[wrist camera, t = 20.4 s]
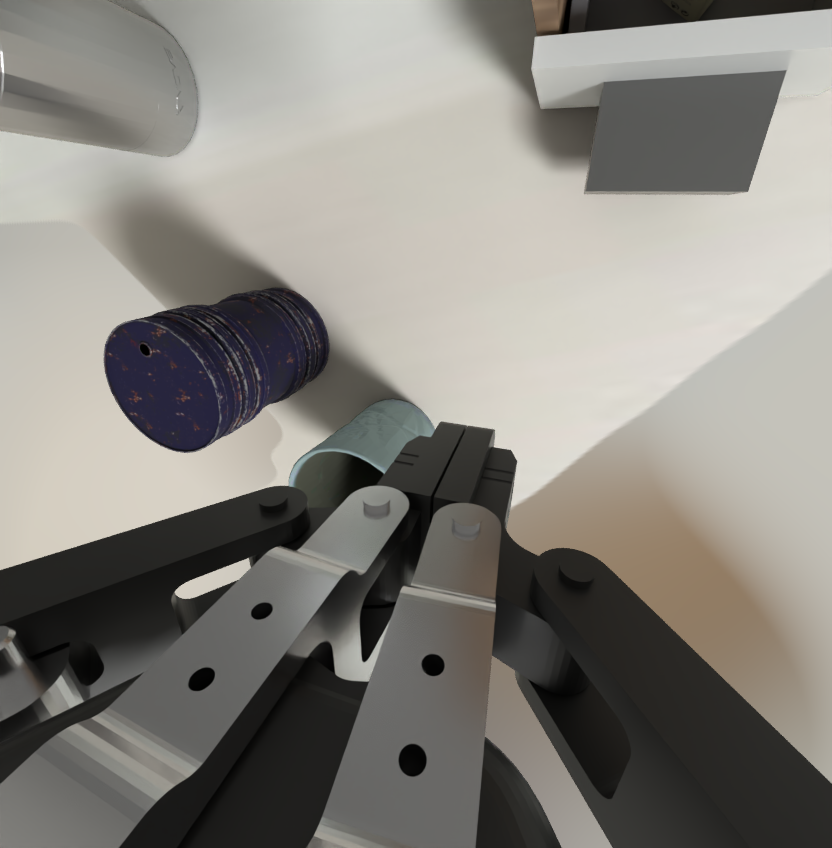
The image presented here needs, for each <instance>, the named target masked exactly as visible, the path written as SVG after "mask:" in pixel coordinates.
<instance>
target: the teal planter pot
mask: <svg viewBox="0 0 832 848" xmlns="http://www.w3.org/2000/svg"><path fill="white" fill-rule="evenodd" d="M434 431H435V429H434V426H433V424H432V423H431V421H430V420H429V418H428V417H427V416H426V415H425V414H424V413H423V412H422V411H421V410H420V409H418V408H417V407H415V406H414V405H412V404H411V403H408V402H405V401H401V400H395V399H390V400H383V401H379V402H376V403H374V404H372V405H370V406H369V407H368V408H366V409H365V410H364V411H363V412H362V413H360V414H359V415H358V416H356V417H355V419H353V420H352V421H351V422H350V423H349V424H347V425H345V426H344V427H343V428H341V429H339V430H338V431H336V432H335V433H334V434H333V435H331V436H330V437H328V438H327V439H326V440H325V441H323V442H322V443H320V444H319V445H317V446H316V447H315V448H313V449H312V450H310V451H309V452H308V453H306V454H305V455H303V456H302V457H301V458H300V459H299V460H298V461H297V462H296V463H295V465H294V467H293V469H292V471H291V473H290V477H289V486H290V487H295V488H297V489H300V490H301V491H303V492H304V493H305V494H306V496H307V499H308V507H309V508H324V507H339V506H340V505H341V504H342V503H343V502H344V501H345V500H346V499H347V497H348V496H350V495H351V494H352V493H353V492H355V491H357V490H359V489H362V488H365V487H369V486H376V485H377V483H378V482H379V481H380V479H381V478H382V476H383V475H384V474H385V472H386V471H387V470H388V468H389V467H390V465H391V464H392V463H393V462H394V460H395V458H396V457H397V456H398V454H400V451H401V450H402V449H403V447H404V446H405V444H406V443H407V442H409V441H411V440H412V439H414V438H416V437H418V436H420V435H421V436H427V437H431V436H432V434H433V433H434Z"/></svg>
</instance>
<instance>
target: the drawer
mask: <svg viewBox="0 0 832 848" xmlns="http://www.w3.org/2000/svg"><path fill="white" fill-rule="evenodd" d="M531 70H532V74H533V78H534V83H535V87H536V91H537V95H538V100H539V104H540V108H541V109H553V108H574V107H594V106H599V108H598V114H597V120H596V125H595V131H594V137H593V143H592V149H591V155H590V161H589V167H588V173H587V179H586V184H585V190H584V194H692V195H730V194H736V193H742V192H748V190H749V187H750V184H751V181H752V177H753V174H754V171H755V168H756V165H757V162H758V159H759V156H760V152H761V149H762V146H763V143H764V140H765V137H766V134H767V131H768V127H769V124H770V121H771V118H772V115H773V112H774V109H775V106H776V102H777V99H778V97H798V96H817V95H819V94H821V93H823V92H825V91H827V90H829V89H831V88H832V0H714V1H713V2H712V3H711V5H710V6H709V7H708V8H707V10H706V11H705V12H704V13H703V14H702V16H701V17H700V18H699V19H698V21H697V22H688V21H687V20H686V19H684V18H683V17H682V16H680V15H679V14H678V13H676V12H675V11H674V10H672V9H671V8H670V7H669V6H668V5H666V4H665V3H664V2H663V1H662V0H572V6H571V13H570V21H569V28H568V34H560V35H549V36H539V37H535V41H534V50H533V59H532V68H531Z"/></svg>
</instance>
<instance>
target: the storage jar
mask: <svg viewBox="0 0 832 848" xmlns="http://www.w3.org/2000/svg"><path fill="white" fill-rule="evenodd" d="M328 355H329V339H328V334H327V330H326V327H325V325H324V322H323V320H322V318H321V317H320V315H319V313H318V312H317V310H316V309H315V308H314V307H313V305H312V304H311V303H310V302H309V301H307V300H306V299H305V298H304V297H302V296H301V295H299V294H297V293H296V292H294V291H291V290H288V289H284V288H270V289H266V290H262V291H251V292H246V293H239V294H235V295H231V296H229V297H227V298H225V299H223V300H221V301H220V302H219V303H217V304H214V305H210V306H207V305H187V306H183V307H180V308H176V309H171V310H167V311H162V312H158V313H156V314H154V315H152V316H149V317H144V318H140V319H135V320H131V321H127V322H124V323H122V324H120V325H118V326H117V327H116V328H115V329H114V330H113V331H112V332H111V334H110V335H109V337H108V339H107V341H106V344H105V350H104V367H105V374H106V377H107V381H108V384H109V387H110V389H111V392H112V394H113V396H114V398H115V400H116V402H117V403H118V405H119V407H120V408H121V409H122V411H123V413H124V414H125V415H126V417H127V418H128V419H129V420H130V421H131V422H132V424H133V425H134V426H135V427H136V428H137V429H138V430H139V431H140V432H142V433H143V434H144V435H145V436H147V437H148V438H149V439H150V440H152V441H153V442H155V443H157V444H159V445H160V446H163V447H165V448H167V449H170V450H173V451H176V452H184V453H190V452H196V451H199V450H202V449H203V448H205V447H207V446H209V445H210V444H212V443H213V442H215V441H216V440H218V439H220V438H221V437H223V436H226V435H228V434H230V433H232V432H233V431H235V430H237V429H238V428H240V427H241V426H242V425H244V424H246V423H248V422H250V421H251V420H252V419H254V418H255V416H256V415H257V414H258V413H260V411H261V410H262V408H264V407H265V406H267V405H269V404H273V403H276V402H279V401H282V400H284V399H286V398H288V397H289V396H290V395H292V394H293V393H295V392H297V391H298V390H300V389H301V388H303V387H304V386H305V385H306V384H307V383H308V382H310V381H312V380H314V379H315V378H316V377H317V376H318V375H319V374H320V373H321V372H322V371H323V369H324V367H325V365H326V363H327V360H328Z"/></svg>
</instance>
